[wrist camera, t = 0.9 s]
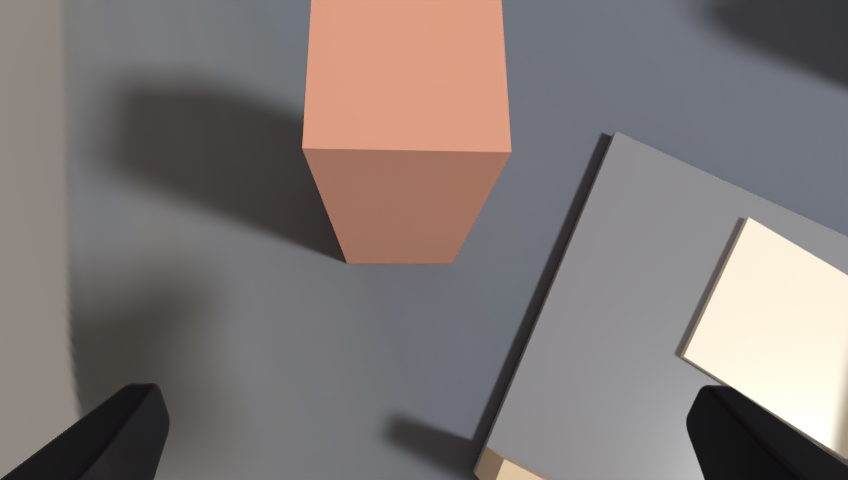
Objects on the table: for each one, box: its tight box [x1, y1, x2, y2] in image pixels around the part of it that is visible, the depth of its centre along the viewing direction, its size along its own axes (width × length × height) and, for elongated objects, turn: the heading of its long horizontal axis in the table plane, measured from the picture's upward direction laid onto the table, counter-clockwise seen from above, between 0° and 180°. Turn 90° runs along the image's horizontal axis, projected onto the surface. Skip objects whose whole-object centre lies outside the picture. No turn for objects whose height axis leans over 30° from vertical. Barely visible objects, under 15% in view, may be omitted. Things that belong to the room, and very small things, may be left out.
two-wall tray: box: [473, 131, 848, 480], centre depth 21 cm, size 18×18×4 cm
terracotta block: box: [302, 0, 511, 264], centre depth 18 cm, size 5×5×12 cm
